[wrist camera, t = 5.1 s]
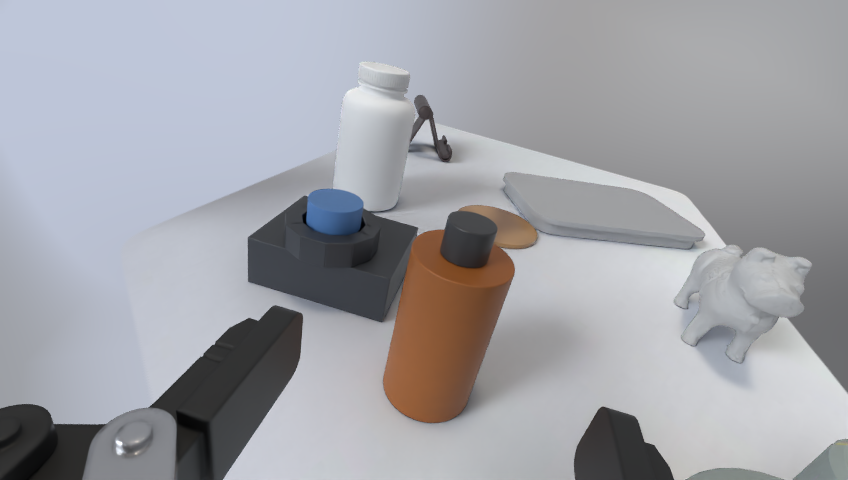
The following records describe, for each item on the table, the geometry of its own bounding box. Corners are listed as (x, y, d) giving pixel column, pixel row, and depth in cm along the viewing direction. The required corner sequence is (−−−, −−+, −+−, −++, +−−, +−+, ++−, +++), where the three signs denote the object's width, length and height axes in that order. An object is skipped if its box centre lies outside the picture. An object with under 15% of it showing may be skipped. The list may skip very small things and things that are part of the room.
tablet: (494, 183, 64) (498, 169, 63) (636, 202, 70) (642, 190, 69) (534, 235, 50) (540, 218, 49) (707, 253, 56) (716, 239, 55)
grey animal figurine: (688, 370, 33) (766, 260, 28) (667, 291, 44) (720, 202, 39) (761, 398, 32) (855, 289, 27) (720, 310, 43) (783, 220, 38)
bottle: (371, 406, 24) (407, 229, 19) (396, 344, 29) (430, 189, 24) (462, 435, 24) (528, 263, 18) (472, 367, 29) (526, 215, 23)
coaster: (449, 233, 46) (450, 229, 46) (461, 201, 55) (462, 198, 55) (537, 257, 45) (539, 254, 45) (534, 221, 54) (536, 218, 54)
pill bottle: (382, 220, 45) (406, 78, 38) (318, 198, 47) (330, 58, 40) (407, 198, 52) (432, 74, 45) (351, 179, 54) (366, 57, 47)
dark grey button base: (240, 288, 31) (239, 218, 28) (301, 232, 40) (305, 175, 37) (378, 330, 30) (391, 262, 27) (410, 264, 39) (422, 207, 36)
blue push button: (296, 228, 29) (297, 202, 28) (320, 207, 33) (322, 184, 32) (348, 243, 29) (352, 217, 28) (367, 221, 33) (370, 197, 32)
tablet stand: (450, 163, 68) (462, 112, 64) (403, 155, 67) (412, 103, 63) (442, 147, 76) (453, 101, 72) (400, 140, 74) (409, 92, 70)
